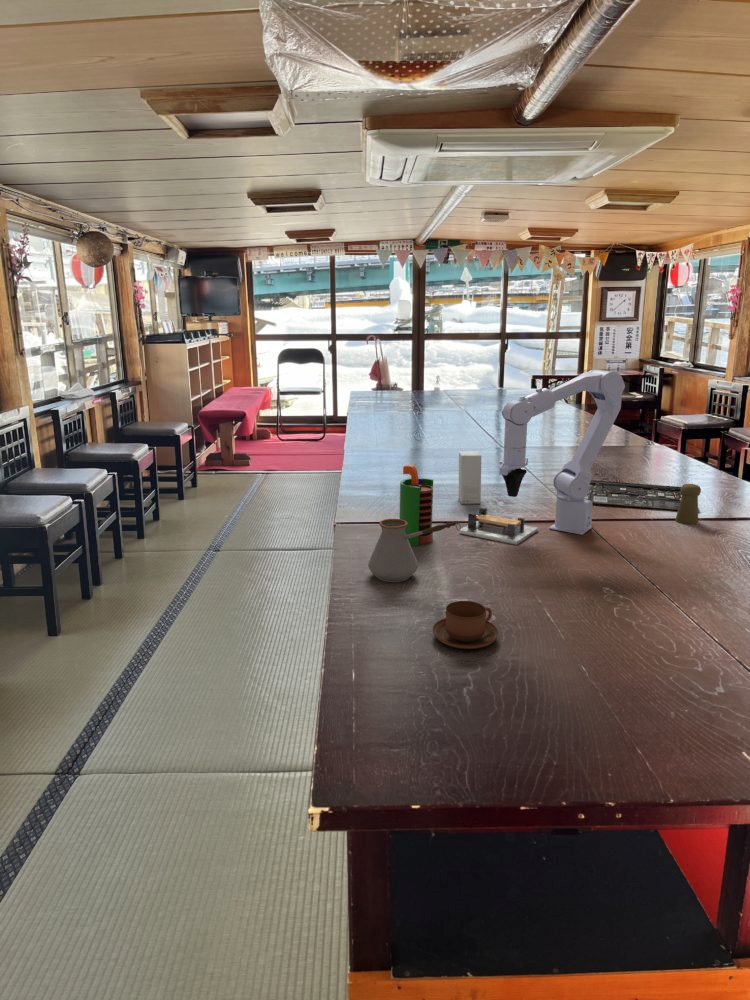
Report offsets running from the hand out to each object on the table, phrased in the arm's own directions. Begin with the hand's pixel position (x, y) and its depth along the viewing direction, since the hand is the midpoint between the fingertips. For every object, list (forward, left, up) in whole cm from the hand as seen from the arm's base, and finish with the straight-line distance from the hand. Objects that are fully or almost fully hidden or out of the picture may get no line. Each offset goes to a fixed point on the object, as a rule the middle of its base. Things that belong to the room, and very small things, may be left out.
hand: (512, 496), depth 184 cm
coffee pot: (+4, +44, -11) cm, 45 cm away
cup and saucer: (-19, +63, -11) cm, 66 cm away
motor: (+18, +20, -11) cm, 29 cm away
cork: (-38, -37, -11) cm, 54 cm away
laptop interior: (-18, -56, -11) cm, 60 cm away
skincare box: (+24, -22, -11) cm, 35 cm away
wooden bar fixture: (+3, +2, -10) cm, 11 cm away
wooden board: (+4, +2, -8) cm, 9 cm away
